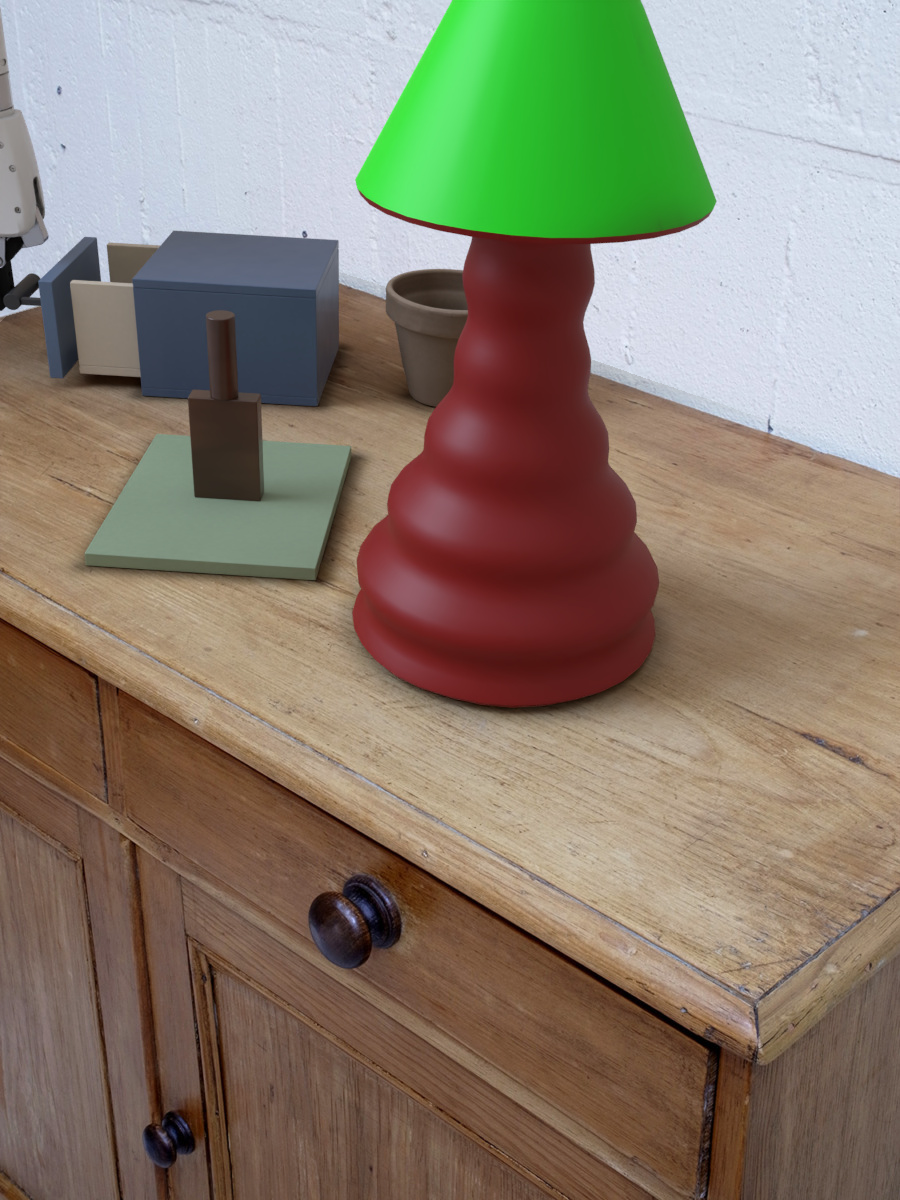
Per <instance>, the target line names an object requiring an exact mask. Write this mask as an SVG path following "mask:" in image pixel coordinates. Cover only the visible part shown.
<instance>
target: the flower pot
mask: <svg viewBox="0 0 900 1200" xmlns="http://www.w3.org/2000/svg"><path fill="white" fill-rule="evenodd" d="M462 274H463V269H454V268H453V269H452V268H427V269H426V268H425V269H416V270H411V271H406V272H404V273H400V274H398V275H395V276H393V277H391V279H389V280H388V282H387V283H386V286H385V313H386V315H387V316H388V318H389V319H390V320H391V321H392V322H393V323H394V326H395V327H394V328H395V331H396V337H397V342H398V347H399V348H398V349H399V354H400V359H401V363H402V369H403V372H404V377H405V381H406V386H407V389H408V393H409V395H410V396H411V397H412V398H413V399H414V400H415V401H417V402H419V403H421V404H423V405H426V406H430V407H432V408H433V407H434V408H436V407H437V405H438V404H439V403H440V402H441V401H442V399H443V398H444V397H445V396H446V395H447V394H448V392H449V391H450V389H451V388H452V386H453V382H454V354H455V349H456V346H457V343H458V339H459V337H460V335H461V333H462V331H463V328H464V326H465V324H466V321H467V317H468V305H467V301H466V296H465V291H464V287H463V277H462Z"/></svg>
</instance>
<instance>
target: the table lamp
mask: <svg viewBox="0 0 900 1200" xmlns="http://www.w3.org/2000/svg"><path fill="white" fill-rule="evenodd" d="M354 181H355V185H356V190H357V191H358V193H359V195H360V197H362V199H364V201H365V202H366V203H367V204H368V205H370V206H371V207H373V208H375V209H376V210H378V211H380V212H382V213H384V214H385V215H386V216H390V217H393V218H395V219H398V220H400V221H403V222H406V223H409V224H412V225H414V226H415V225H416V226H419V227H424V228H428V229H432V230H435V231H438V232H444V233H450V234H455V235H460V236H465V237H470V238H471V241H470V244H469V248H468V251H467V253H466V257H465V260H464V264H463V268H462V270H463V274H462V277H463V287H464V291H465V296H466V301H467V305H468V317H467V321H466V324H465V326H464V328H463V331H462V333H461V335H460V337H459V339H458V343H457V346H456V349H455V354H454V382H453V386H452V388H451V389H450V391H449V392H448V394H447V395H446V396H445V397H444V398H443V399H442V401H441V402H440V403H439V404H438V405H437V407H434V409H433V410H432V412H431V414H430V416H429V418H428V419H427V423H426V427H425V431H424V436H423V449H422V451H421V452H420V453H419V454H418V455H417V456H415V457H414V458H413V459H412V460H411V461H410V462H408V463H407V464H406V465H405V466H404V467H402V469H401V470H400V472H399V473H398V474H397V475H396V477H395V478H394V480H393V481H392V483H391V484H390V488H389V491H388V496H387V501H386V507H387V515H386V516H385V517H383V518H382V519H381V520H380V521H378V522H377V523H376V524H375V525H373V527H372V528H371V530H370V531H369V533H368V534H367V536H366V537H365V539H364V540H363V541H362V543H361V544H360V547H359V549H358V553H357V557H356V572H357V582H358V585H359V587H360V590H359V591H358V593H357V595H356V598H355V601H354V604H353V608H352V611H351V612H352V613H351V615H352V623H353V629H354V631H355V633H356V635H357V637H358V639H359V641H360V643H361V645H362V646H363V647H364V648H365V650H366V651H367V652H368V653H369V654H370V656H371V657H372V658H373V659H374V661H376V662H377V663H378V664H380V665H381V666H382V667H383V668H384V669H386V670H387V671H388V672H390V673H391V674H392V675H394V676H395V677H396V678H397V679H398V680H402V681H404V682H405V683H408V684H410V685H412V686H414V687H416V688H419V689H421V690H423V691H427V692H430V693H433V694H436V695H438V696H442V697H445V698H448V699H453V700H458V701H462V702H467V703H471V704H475V705H480V706H491V707H499V708H500V707H501V708H510V709H516V708H518V709H519V708H533V707H545V706H551V705H557V704H561V703H567V702H572V701H576V700H580V699H584V698H587V697H589V696H594V695H597V694H600V693H602V692H604V691H607V690H608V689H611V688H613V687H614V686H615V687H616V686H617V685H619V684H621V683H622V682H624V681H625V680H626V679H628V678H630V676H631V675H632V674H633V673H635V672H636V671H638V669H640V667H642V665H644V663H645V661H646V659H647V658H648V656H649V655H650V653H651V652H652V649H653V646H654V642H655V639H656V622H655V617H654V614H653V612H652V609H653V607H654V605H655V601H656V599H657V594H658V591H659V586H660V577H659V568H658V566H657V563H656V561H655V560H654V558H653V555H652V554H651V551H650V550H649V548H648V545H647V544H646V543H645V542H644V541H643V540H642V538H641V537H639V535H638V534H637V533H636V532H635V530H636V526H637V523H638V513H637V512H638V511H637V502H636V500H635V498H634V497H633V494H632V492H631V490H630V488H629V486H628V485H627V483H626V482H625V480H624V479H623V478H622V477H621V476H620V475H619V474H618V473H617V472H616V471H615V469H613V468H612V467H611V465H610V463H609V455H610V440H609V439H610V438H609V431H608V429H607V426H606V423H605V421H604V420H603V418H602V416H601V415H600V413H599V411H598V409H597V408H596V407H595V405H594V404H593V402H592V400H591V398H590V394H589V384H590V379H591V371H592V356H591V355H592V354H591V350H590V347H589V343H588V338H587V335H586V332H585V326H584V325H585V324H584V321H585V316H586V311H587V309H588V307H589V304H590V301H591V299H592V296H593V293H594V288H595V284H596V279H595V278H596V275H595V274H596V273H595V267H594V259H593V254H592V248H591V247H592V245H598V244H599V245H601V244H615V243H616V244H617V243H626V242H627V243H628V242H634V241H642V240H651V239H656V238H661V237H665V236H669V235H673V234H678V233H681V232H684V231H687V230H688V229H691V228H693V227H696V226H698V225H700V224H702V222H704V221H705V220H706V219H708V218H709V217H710V215H711V214H712V212H713V211H714V209H715V206H716V205H717V199H716V195H715V192H714V191H713V188H712V184H711V182H710V179H709V177H708V175H707V171H706V169H705V166H704V164H703V160H702V158H701V155H700V153H699V151H698V147H697V145H696V142H695V139H694V137H693V135H692V131H691V129H690V126H689V124H688V121H687V117H686V116H685V113H684V110H683V108H682V105H681V102H680V99H679V97H678V94H677V91H676V89H675V86H674V84H673V81H672V78H671V76H670V73H669V70H668V68H667V65H666V62H665V59H664V57H663V55H662V51H661V48H660V47H659V44H658V42H657V38H656V36H655V33H654V30H653V28H652V25H651V22H650V20H649V16H648V15H647V12H646V9H645V7H644V4H643V2H642V0H451V2H450V3H449V5H448V7H447V9H446V11H445V13H444V15H443V16H442V18H441V20H440V22H439V24H438V26H437V27H436V30H435V31H434V33H433V35H432V37H431V39H430V41H429V42H428V44H427V46H426V48H425V50H424V51H423V53H422V55H421V57H420V59H419V61H418V63H417V65H416V66H415V68H414V70H413V72H412V73H411V75H410V78H409V79H408V80H407V82H406V84H405V87H404V88H403V90H402V92H401V94H400V96H399V98H398V100H397V101H396V103H395V105H394V107H393V109H392V111H391V112H390V114H389V116H388V118H387V120H386V122H385V123H384V125H383V127H382V129H381V131H380V133H379V135H378V137H376V140H375V142H374V144H373V145H372V148H371V149H370V151H369V153H368V155H367V157H366V159H365V160H364V162H363V164H362V166H361V168H360V169H359V172H358V173H357V176H355V180H354Z"/></svg>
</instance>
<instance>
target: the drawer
mask: <svg viewBox="0 0 900 1200" xmlns="http://www.w3.org/2000/svg"><path fill="white" fill-rule="evenodd" d="M98 245H99V244H98V237H97V236H96V237H95V236H84V237H83V238H81V240H79V241H78V242H77V243H76V244H75V245H74V246H73V247H72V248H71V249H70V250H69V251H68V252H67V253H66V254H65V255H64V256H63V257H62V258H60V259H59V261H57V262H56V264H54V265H53V266H52V268H50V269H49V270H47V272H46V273H45V274H44V275H43V276H42V277H40V276H39V275H38V274H36V273H34V272H33V273H32V272H31V273H28V274H27V275H26V276H25V277H23V278H22V279H21V281H19V282H18V283H17V284H16V285H14V286H15V287H14V288H13V289H12V290H11V291H10V292H9V293H8V294H6V295H5V297H4V299H3V302H4V305H5V306H6V307H5V308H7V309H8V310H10V311H17V310H18V309H19V308H20V307H22V306H33V307H41V315H42V323H43V332H44V338H45V339H44V340H45V347H46V355H47V364H48V371H49V378H50V379H65V377H67V375H68V373H69V372H70V371H71V370H72V369H73V368H74V366H75V365H76V364H77V363H78V364H79V365H78V367H79V373H80V374H83V375H99V376H113V377H115V376H116V377H117V376H118V377H132V378H141V375H140V363H139V352H138V340H137V329H136V317H135V306H134V294H133V288H134V287H133V282H132V279H133V278H134V276H135V275H136V274H137V273H138V272H139V270H140V269H141V268H142V267H143V266H144V265H145V263H146V262H147V261H148V260H149V259H150V258H151V256H152V255H153V254H154V253H155V252H156V250H157V249H158V248H159V247H160V246H161V245H162V244H160V245H158V244H143V243H142V244H141V243H128V242H127V243H124V242H110V241H109V242H108V243H107V244H106V252H107V253H106V254H107V263H108V264H107V265H108V274H109V281H102V276H101V265H100V256H99V246H98ZM37 290H38V291H39V297H33V295H34V293H35V292H36V291H37Z"/></svg>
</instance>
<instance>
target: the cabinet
mask: <svg viewBox="0 0 900 1200" xmlns="http://www.w3.org/2000/svg"><path fill="white" fill-rule="evenodd" d="M160 245H161V246H160V247H159V248H158V249H157V250H156V252H155V253H154V254H153V255H152V256H151V258H150V259H149V260H148V261H147V262H146V263H145V265H144V266H143V267H142V268H141V269H140V270H139V272H138V273H137V274H136V275H135V276H134V278H133V279H132V282H133V287H134V288H133V294H134V306H135V317H136V329H137V340H138V352H139V363H140V375H141V377H140V384H141V385H140V387H141V395H142V396H143V397H154V398H155V397H156V398H158V397H159V398H172V399H173V398H174V399H188V397H189V395H190V393H191V392H192V390H209V391H210V382H209V364H208V347H207V330H206V314H207V313H209V312H211V311H217V310H225V311H230V312H232V313H234V315H235V330H236V351H237V373H238V392H241V393H258V394H261V404H269V405H284V406H285V405H286V406H300V407H301V406H302V407H318V406H319V404H320V400H321V398H322V395H323V392H324V389H325V387H326V384H327V382H328V379H329V376H330V373H331V370H332V367H333V365H334V362H335V360H336V357H337V354H338V352H339V348H340V257H339V256H340V249H339V248H340V241H339V240H338V239H324V238H311V237H310V238H307V237H294V236H293V237H291V236H290V237H289V236H274V235H257V234H242V233H241V234H240V233H224V232H206V231H205V232H204V231H189V230H188V231H187V230H172V232H170V234H169V235H168V236H167V238H165V240H164V241H163V242H162V243H161V244H160Z"/></svg>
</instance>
